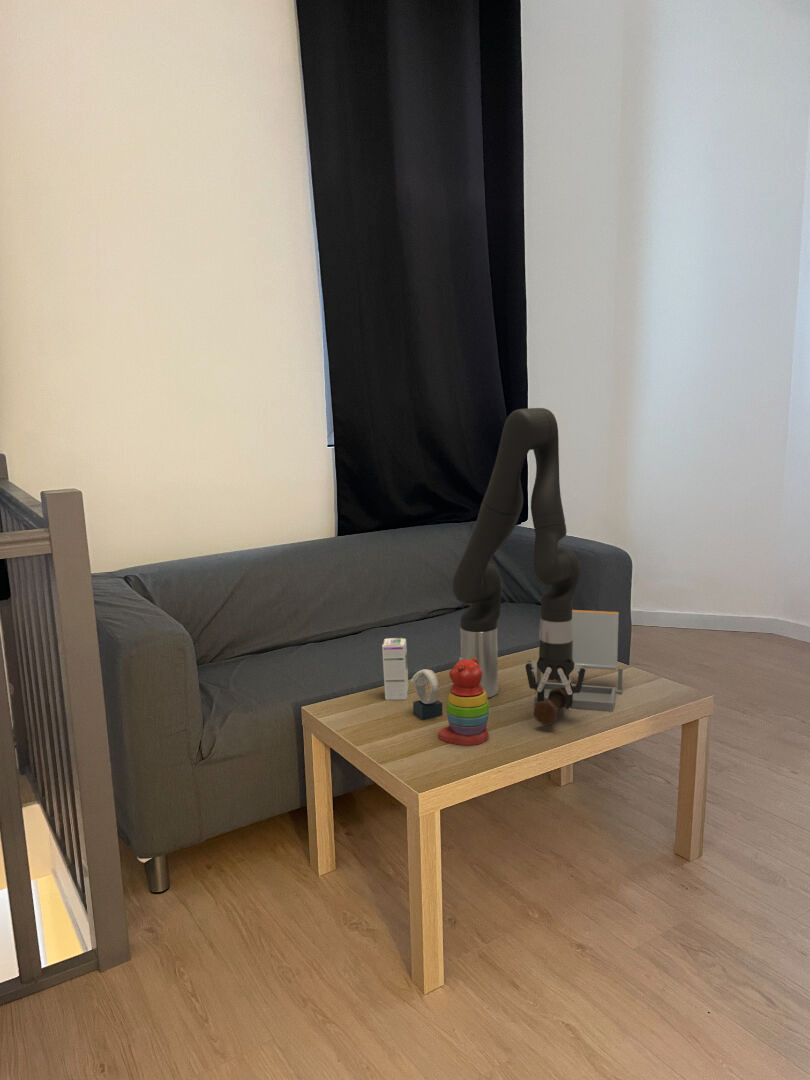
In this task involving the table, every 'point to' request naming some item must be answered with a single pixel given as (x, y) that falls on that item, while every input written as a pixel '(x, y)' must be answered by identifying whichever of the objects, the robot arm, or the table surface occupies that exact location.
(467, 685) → the stacking bear
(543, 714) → the bolt
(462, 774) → the table surface
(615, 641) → the lid
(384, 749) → the table surface
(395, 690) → the syrup box
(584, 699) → the housing
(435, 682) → the watch
